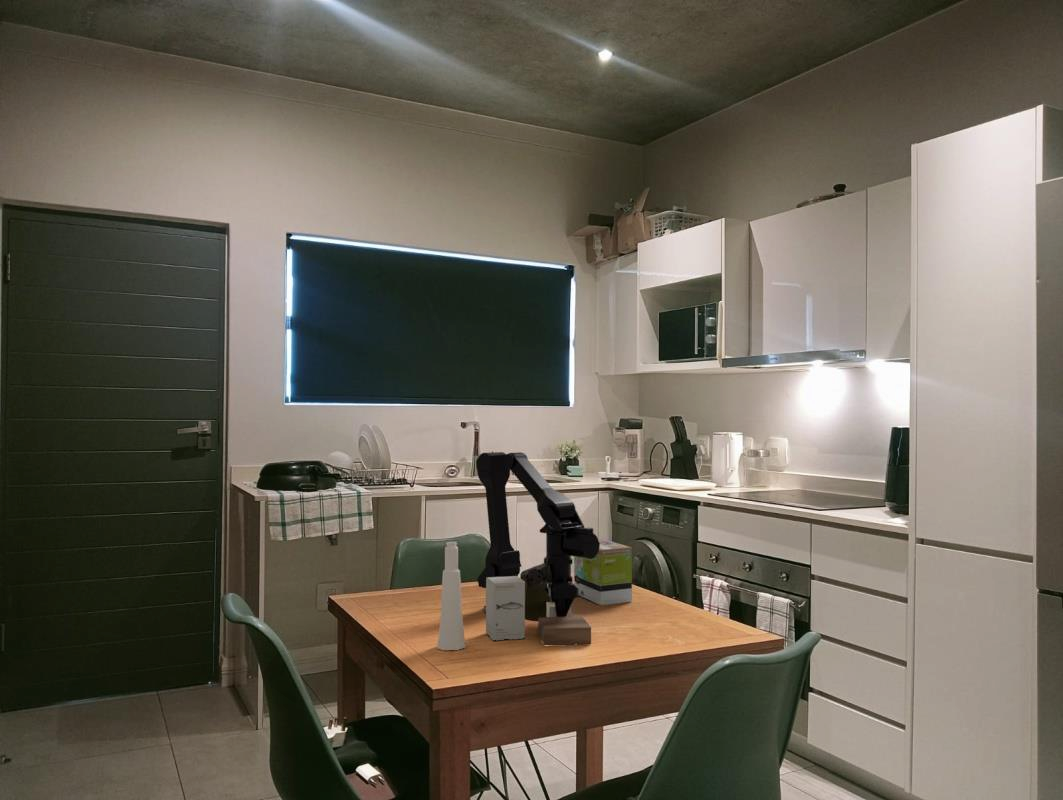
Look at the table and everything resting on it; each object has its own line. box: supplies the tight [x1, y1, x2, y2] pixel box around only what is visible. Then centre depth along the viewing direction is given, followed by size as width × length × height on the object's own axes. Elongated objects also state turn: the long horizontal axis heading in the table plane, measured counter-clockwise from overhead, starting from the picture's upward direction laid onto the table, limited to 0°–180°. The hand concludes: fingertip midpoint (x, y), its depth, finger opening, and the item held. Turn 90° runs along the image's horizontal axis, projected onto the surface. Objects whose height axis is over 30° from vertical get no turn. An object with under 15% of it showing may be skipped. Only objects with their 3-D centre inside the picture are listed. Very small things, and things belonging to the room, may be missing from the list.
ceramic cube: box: [546, 601, 572, 617], centre depth 190 cm, size 5×5×5 cm
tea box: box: [573, 538, 633, 606], centre depth 220 cm, size 15×10×15 cm, turn 25°
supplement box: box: [485, 575, 526, 641], centre depth 181 cm, size 7×7×13 cm
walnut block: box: [537, 615, 592, 646], centre depth 179 cm, size 10×10×4 cm
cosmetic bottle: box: [436, 541, 466, 651], centre depth 173 cm, size 6×6×22 cm
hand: (558, 621), depth 190 cm, fingers closed on ceramic cube, 5 cm apart
